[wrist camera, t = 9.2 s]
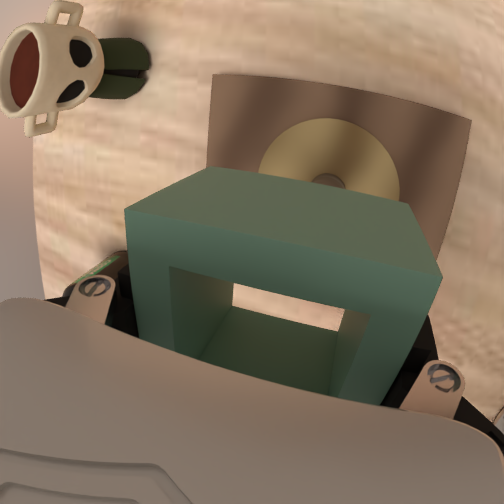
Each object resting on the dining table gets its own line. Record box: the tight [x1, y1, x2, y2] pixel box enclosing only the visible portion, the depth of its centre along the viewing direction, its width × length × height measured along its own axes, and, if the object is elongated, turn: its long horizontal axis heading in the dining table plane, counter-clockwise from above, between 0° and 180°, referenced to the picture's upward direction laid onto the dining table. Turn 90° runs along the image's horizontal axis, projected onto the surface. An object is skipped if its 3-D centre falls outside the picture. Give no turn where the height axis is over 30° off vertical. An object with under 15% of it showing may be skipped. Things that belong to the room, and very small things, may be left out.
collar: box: [124, 166, 443, 405], centre depth 10 cm, size 7×7×5 cm
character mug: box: [0, 0, 149, 137], centre depth 20 cm, size 11×7×13 cm, turn 160°
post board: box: [206, 74, 472, 260], centre depth 20 cm, size 20×16×13 cm
